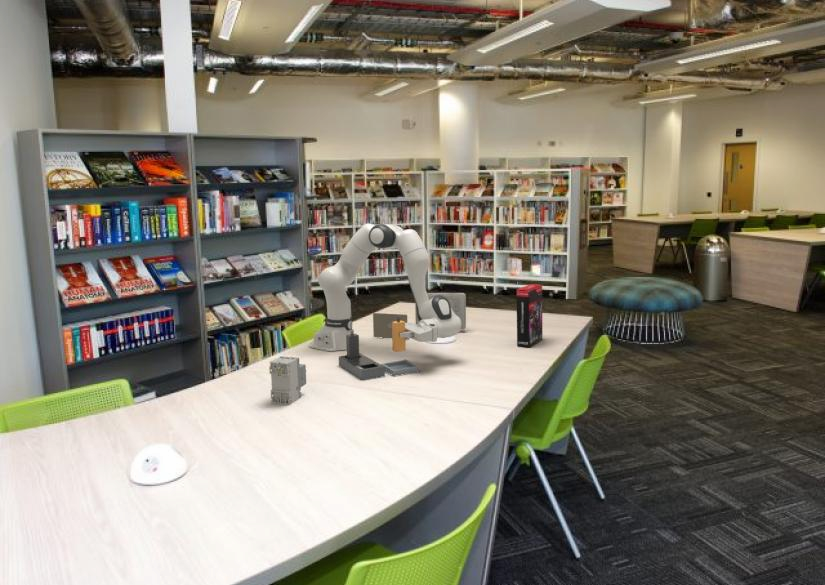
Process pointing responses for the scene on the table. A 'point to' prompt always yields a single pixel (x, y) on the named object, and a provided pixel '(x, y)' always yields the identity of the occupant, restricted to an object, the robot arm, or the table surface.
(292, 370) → the circuit breaker
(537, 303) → the graphics card box
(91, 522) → the table surface
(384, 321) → the laptop
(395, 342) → the plug
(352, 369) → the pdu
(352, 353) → the twin plug
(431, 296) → the network device
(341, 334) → the robot arm
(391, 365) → the tray
